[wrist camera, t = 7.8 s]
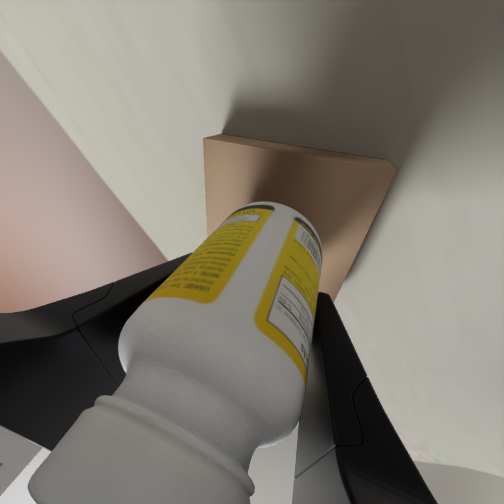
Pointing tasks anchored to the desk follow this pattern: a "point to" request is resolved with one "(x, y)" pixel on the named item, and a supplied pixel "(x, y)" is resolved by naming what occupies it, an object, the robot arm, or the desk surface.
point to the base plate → (299, 192)
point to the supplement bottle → (201, 373)
